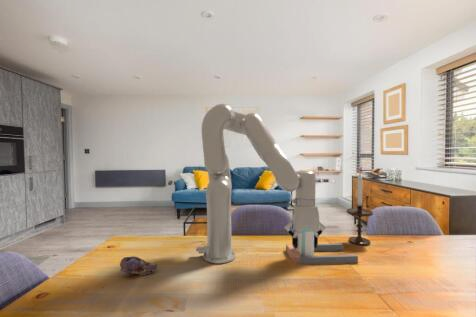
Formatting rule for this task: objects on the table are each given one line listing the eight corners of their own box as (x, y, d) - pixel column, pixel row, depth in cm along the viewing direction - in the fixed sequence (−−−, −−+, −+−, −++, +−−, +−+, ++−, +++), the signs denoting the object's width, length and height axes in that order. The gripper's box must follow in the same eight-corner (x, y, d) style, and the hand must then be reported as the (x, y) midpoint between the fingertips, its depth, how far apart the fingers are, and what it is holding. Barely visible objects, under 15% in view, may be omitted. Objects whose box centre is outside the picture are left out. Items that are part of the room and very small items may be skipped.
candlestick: (367, 238, 119) (368, 165, 118) (376, 247, 108) (377, 167, 107) (343, 237, 120) (344, 165, 119) (349, 245, 110) (350, 166, 109)
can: (297, 249, 103) (298, 221, 103) (315, 252, 100) (315, 223, 100) (293, 256, 97) (294, 225, 97) (312, 259, 94) (312, 228, 93)
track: (294, 264, 92) (294, 256, 92) (286, 250, 105) (286, 243, 105) (357, 262, 93) (358, 254, 93) (341, 249, 106) (341, 242, 106)
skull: (159, 268, 90) (158, 251, 90) (153, 279, 82) (153, 260, 82) (124, 269, 89) (124, 252, 89) (116, 280, 81) (115, 262, 81)
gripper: (285, 204, 94) (285, 250, 94) (330, 204, 95) (330, 250, 95) (281, 200, 101) (281, 243, 102) (323, 200, 102) (322, 242, 103)
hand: (304, 246), depth 98 cm, fingers closed on can, 7 cm apart
